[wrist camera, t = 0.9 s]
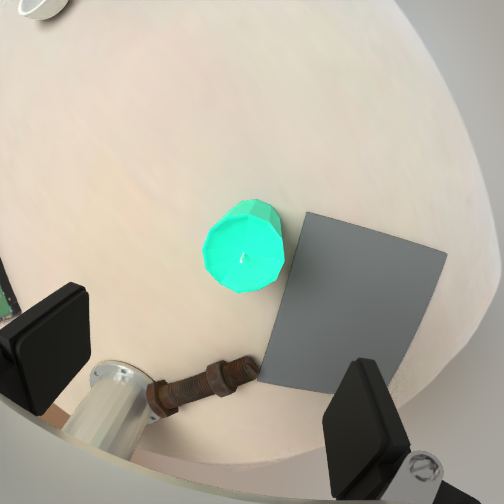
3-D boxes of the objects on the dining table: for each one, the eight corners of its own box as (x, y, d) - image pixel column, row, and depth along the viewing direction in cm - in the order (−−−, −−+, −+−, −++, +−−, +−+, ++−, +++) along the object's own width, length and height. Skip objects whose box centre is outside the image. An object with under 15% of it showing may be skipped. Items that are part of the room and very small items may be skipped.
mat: (379, 396, 37) (380, 398, 36) (257, 378, 37) (256, 381, 36) (445, 252, 31) (447, 254, 30) (306, 211, 31) (307, 212, 30)
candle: (215, 211, 32) (182, 236, 20) (269, 190, 31) (266, 203, 19) (237, 262, 33) (218, 313, 21) (290, 243, 32) (298, 285, 20)
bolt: (257, 353, 38) (167, 387, 41) (239, 338, 35) (145, 376, 37) (267, 392, 34) (171, 423, 36) (249, 381, 31) (146, 414, 33)
